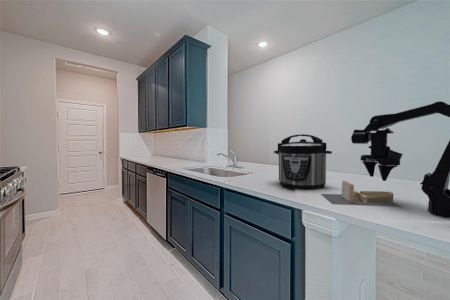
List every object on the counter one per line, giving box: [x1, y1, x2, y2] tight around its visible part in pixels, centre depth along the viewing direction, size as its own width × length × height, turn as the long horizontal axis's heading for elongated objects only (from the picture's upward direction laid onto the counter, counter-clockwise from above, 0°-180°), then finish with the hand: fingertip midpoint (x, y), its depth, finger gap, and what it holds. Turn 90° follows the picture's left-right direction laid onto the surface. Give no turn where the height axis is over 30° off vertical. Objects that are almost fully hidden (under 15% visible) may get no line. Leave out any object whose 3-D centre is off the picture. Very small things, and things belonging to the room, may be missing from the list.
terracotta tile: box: [341, 180, 355, 203], centre depth 90 cm, size 8×2×8 cm, turn 171°
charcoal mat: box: [320, 193, 403, 208], centre depth 91 cm, size 16×27×1 cm, turn 81°
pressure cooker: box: [273, 134, 333, 190], centre depth 121 cm, size 30×28×32 cm
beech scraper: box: [354, 190, 394, 204], centre depth 89 cm, size 9×13×4 cm
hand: (377, 178), depth 89 cm, fingers open, 9 cm apart
